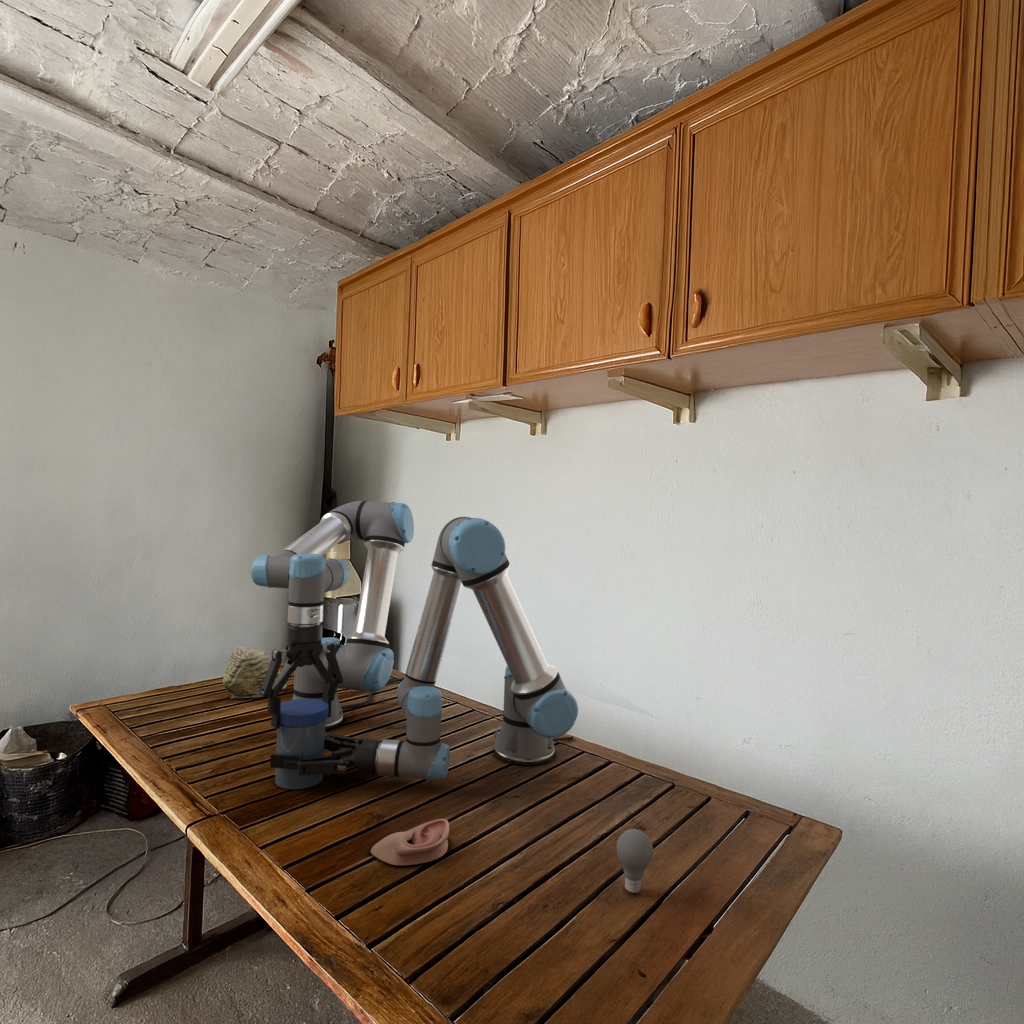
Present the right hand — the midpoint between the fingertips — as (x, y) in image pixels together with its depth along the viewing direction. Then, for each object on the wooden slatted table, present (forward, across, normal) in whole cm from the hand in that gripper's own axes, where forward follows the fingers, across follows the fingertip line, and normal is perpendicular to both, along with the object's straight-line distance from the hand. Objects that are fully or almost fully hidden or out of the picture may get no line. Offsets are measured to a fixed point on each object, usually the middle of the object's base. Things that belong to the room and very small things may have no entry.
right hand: (282, 750), depth 142 cm
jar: (-4, 0, -6) cm, 7 cm away
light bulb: (-74, -32, -6) cm, 81 cm away
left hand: (-4, 0, +7) cm, 8 cm away
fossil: (+33, +54, -6) cm, 63 cm away
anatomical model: (-35, -25, -6) cm, 43 cm away
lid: (-4, 0, +10) cm, 11 cm away
